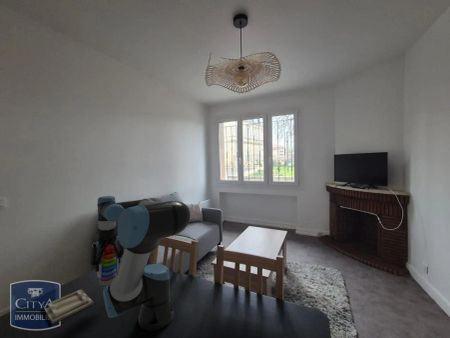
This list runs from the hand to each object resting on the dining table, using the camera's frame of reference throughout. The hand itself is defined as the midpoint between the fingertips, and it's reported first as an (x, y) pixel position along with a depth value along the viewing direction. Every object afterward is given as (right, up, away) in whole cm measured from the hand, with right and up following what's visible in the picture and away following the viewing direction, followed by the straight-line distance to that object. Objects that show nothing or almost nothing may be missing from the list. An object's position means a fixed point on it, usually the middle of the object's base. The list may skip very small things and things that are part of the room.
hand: (108, 273), depth 102 cm
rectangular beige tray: (-19, -15, -1) cm, 24 cm away
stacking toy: (0, -4, 0) cm, 4 cm away
